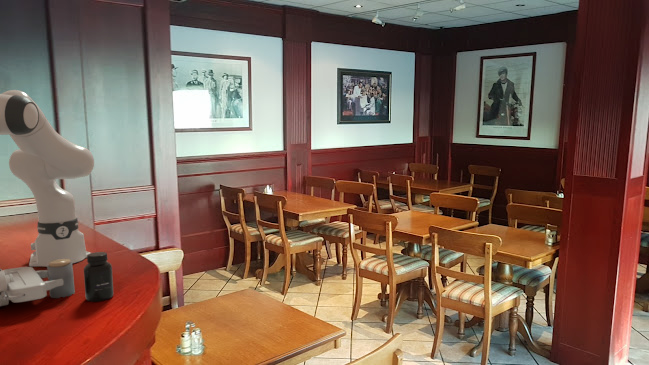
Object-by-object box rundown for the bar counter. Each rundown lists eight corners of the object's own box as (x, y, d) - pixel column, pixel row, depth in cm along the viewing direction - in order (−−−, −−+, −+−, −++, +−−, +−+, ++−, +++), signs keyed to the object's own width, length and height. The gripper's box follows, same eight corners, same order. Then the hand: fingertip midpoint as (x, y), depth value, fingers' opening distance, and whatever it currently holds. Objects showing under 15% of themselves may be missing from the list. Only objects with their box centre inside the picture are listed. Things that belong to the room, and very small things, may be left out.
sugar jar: (48, 293, 133) (44, 261, 132) (71, 288, 137) (69, 257, 135) (52, 299, 128) (49, 266, 127) (77, 294, 132) (74, 261, 131)
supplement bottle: (103, 303, 125) (99, 258, 124) (80, 301, 127) (76, 257, 125) (119, 293, 132) (116, 251, 130) (97, 292, 133) (93, 250, 132)
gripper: (2, 287, 114) (66, 274, 123) (-8, 268, 130) (50, 257, 139) (4, 313, 115) (68, 298, 124) (-6, 290, 131) (52, 279, 140)
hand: (58, 276), depth 131 cm, fingers open, 8 cm apart
